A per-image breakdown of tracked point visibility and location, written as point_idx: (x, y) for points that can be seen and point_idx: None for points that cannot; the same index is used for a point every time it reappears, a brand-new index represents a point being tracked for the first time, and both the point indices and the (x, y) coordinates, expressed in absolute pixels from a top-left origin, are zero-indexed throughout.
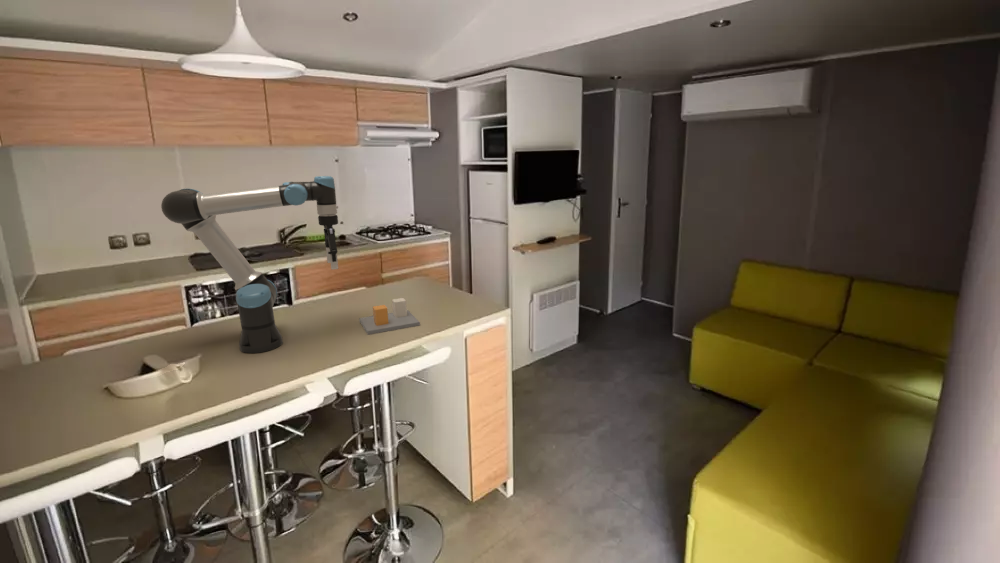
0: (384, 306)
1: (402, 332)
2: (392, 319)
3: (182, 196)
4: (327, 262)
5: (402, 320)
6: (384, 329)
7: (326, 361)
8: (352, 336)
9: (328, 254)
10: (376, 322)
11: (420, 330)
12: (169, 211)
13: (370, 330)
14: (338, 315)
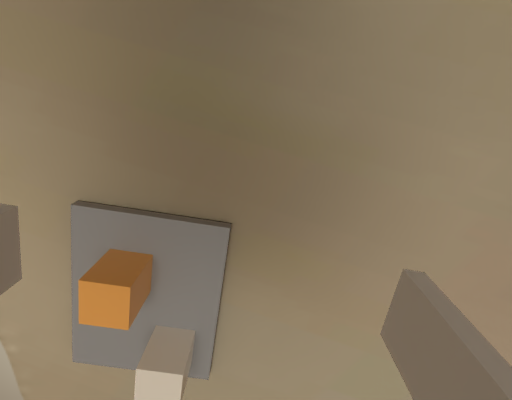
0: (105, 322)
1: (48, 293)
2: (144, 310)
3: None
4: (408, 272)
5: (116, 330)
6: (73, 257)
7: None
8: (93, 153)
9: (457, 372)
10: (104, 254)
11: (39, 338)
12: None
13: (73, 215)
14: (357, 184)
